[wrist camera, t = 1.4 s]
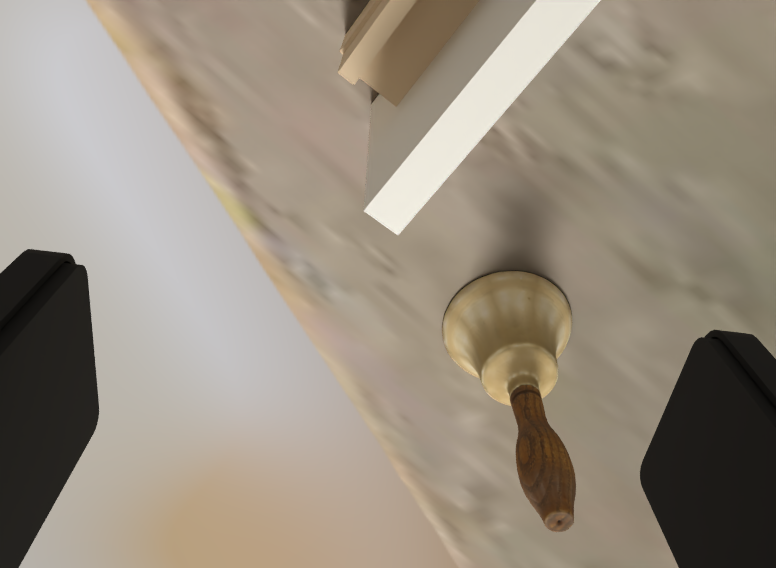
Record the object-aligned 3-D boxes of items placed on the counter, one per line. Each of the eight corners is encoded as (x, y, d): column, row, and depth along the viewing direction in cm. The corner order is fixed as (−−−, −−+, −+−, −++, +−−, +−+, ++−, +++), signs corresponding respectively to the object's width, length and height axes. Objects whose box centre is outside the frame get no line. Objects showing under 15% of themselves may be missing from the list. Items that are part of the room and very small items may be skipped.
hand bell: (444, 383, 45) (472, 592, 31) (438, 275, 41) (467, 459, 27) (568, 374, 45) (652, 581, 31) (574, 264, 41) (673, 445, 27)
